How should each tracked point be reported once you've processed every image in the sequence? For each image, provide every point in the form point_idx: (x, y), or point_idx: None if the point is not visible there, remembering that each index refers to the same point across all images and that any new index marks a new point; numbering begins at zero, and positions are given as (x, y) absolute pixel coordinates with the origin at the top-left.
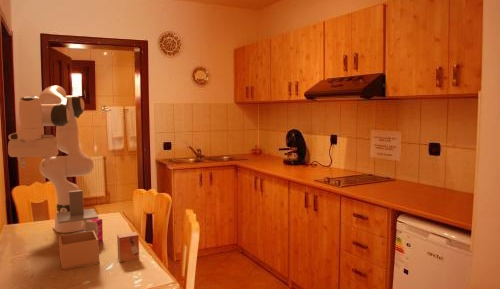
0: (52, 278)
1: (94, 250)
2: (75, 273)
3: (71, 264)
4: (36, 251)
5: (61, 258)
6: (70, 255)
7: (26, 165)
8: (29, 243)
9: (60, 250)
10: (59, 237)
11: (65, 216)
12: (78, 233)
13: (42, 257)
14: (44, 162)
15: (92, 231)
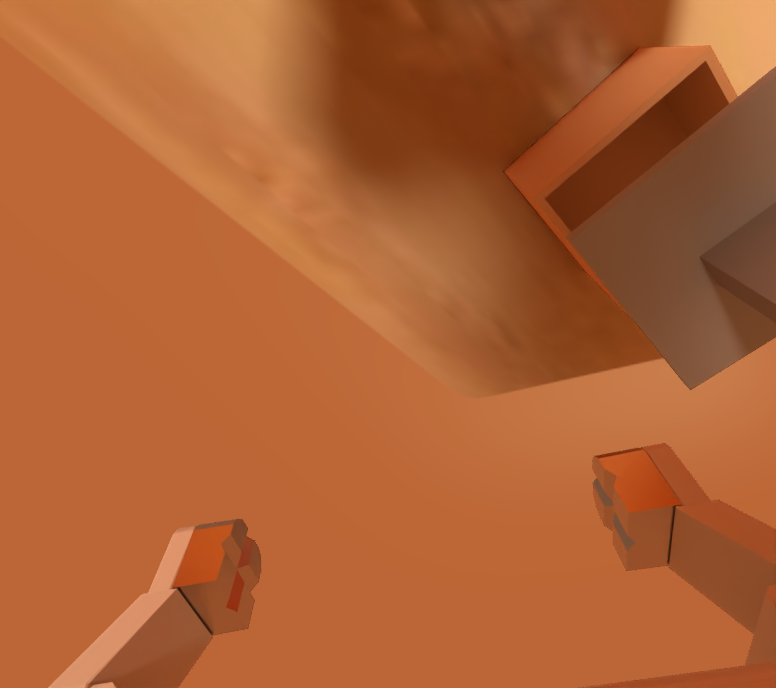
0: (592, 336)
1: None
2: None
3: None
4: (320, 122)
5: (604, 291)
6: None
7: (232, 535)
8: (165, 13)
9: (583, 264)
10: (557, 226)
11: (684, 298)
12: (627, 126)
13: (413, 183)
14: (693, 583)
15: (702, 60)
